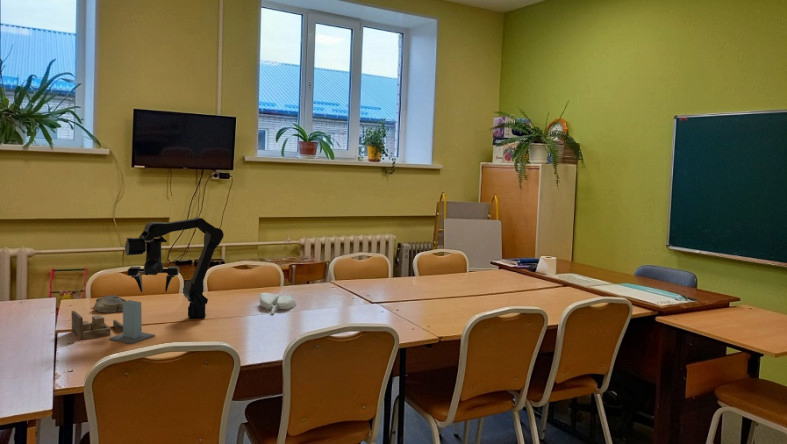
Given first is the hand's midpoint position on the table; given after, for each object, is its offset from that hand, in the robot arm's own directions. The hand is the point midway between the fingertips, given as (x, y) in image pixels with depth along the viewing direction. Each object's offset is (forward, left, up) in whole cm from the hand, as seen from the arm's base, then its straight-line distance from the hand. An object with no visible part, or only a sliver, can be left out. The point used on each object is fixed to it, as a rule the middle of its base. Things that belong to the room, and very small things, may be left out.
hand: (153, 291), depth 233 cm
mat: (+4, +19, -13) cm, 24 cm away
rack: (+18, +10, -13) cm, 25 cm away
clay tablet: (+22, -29, -14) cm, 39 cm away
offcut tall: (+18, +10, -13) cm, 25 cm away
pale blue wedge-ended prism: (+4, +19, -12) cm, 23 cm away
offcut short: (+22, +12, -13) cm, 29 cm away
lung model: (-49, -21, -14) cm, 55 cm away
